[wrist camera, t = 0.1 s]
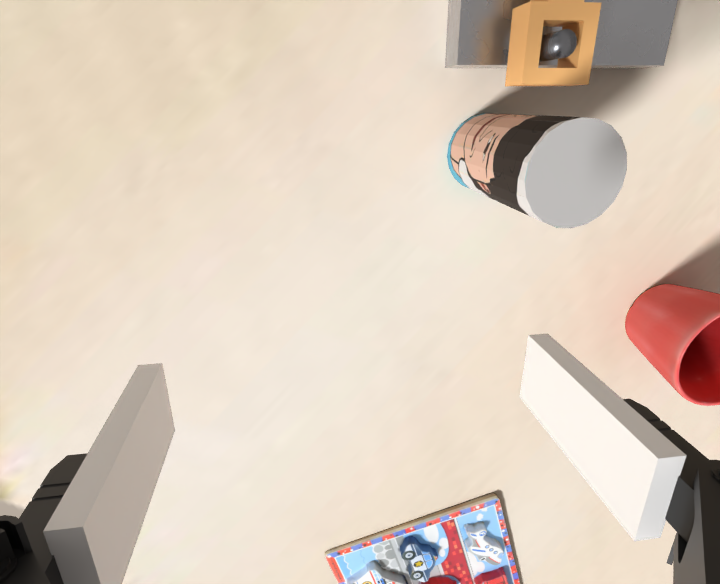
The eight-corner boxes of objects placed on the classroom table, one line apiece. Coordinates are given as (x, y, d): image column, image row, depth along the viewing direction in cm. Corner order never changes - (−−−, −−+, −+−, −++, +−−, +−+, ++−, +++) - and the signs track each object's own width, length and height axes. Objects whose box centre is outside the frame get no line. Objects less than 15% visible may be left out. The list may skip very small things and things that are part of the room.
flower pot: (601, 296, 50) (669, 338, 41) (695, 253, 50) (784, 285, 41) (619, 371, 54) (684, 423, 46) (706, 332, 54) (788, 376, 45)
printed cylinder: (519, 109, 42) (634, 112, 28) (516, 185, 44) (619, 222, 30) (446, 116, 41) (527, 122, 27) (447, 193, 44) (521, 234, 30)
